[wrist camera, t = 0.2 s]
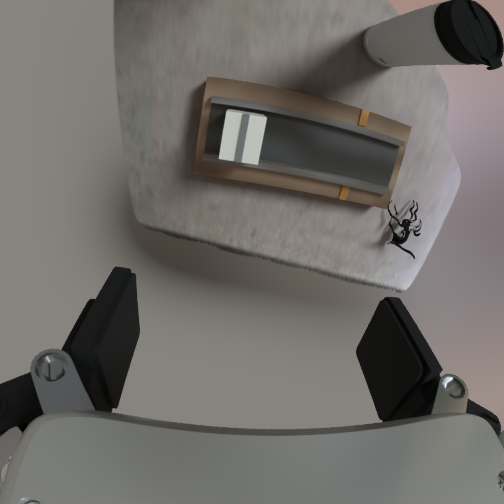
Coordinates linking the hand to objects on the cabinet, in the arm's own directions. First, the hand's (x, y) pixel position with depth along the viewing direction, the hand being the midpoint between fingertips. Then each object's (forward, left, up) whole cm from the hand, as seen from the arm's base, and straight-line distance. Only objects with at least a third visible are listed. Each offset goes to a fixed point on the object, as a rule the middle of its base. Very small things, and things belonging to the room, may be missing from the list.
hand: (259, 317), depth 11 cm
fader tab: (-3, -1, -27) cm, 27 cm away
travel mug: (-19, +15, -31) cm, 39 cm away
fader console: (-3, +7, -30) cm, 31 cm away
